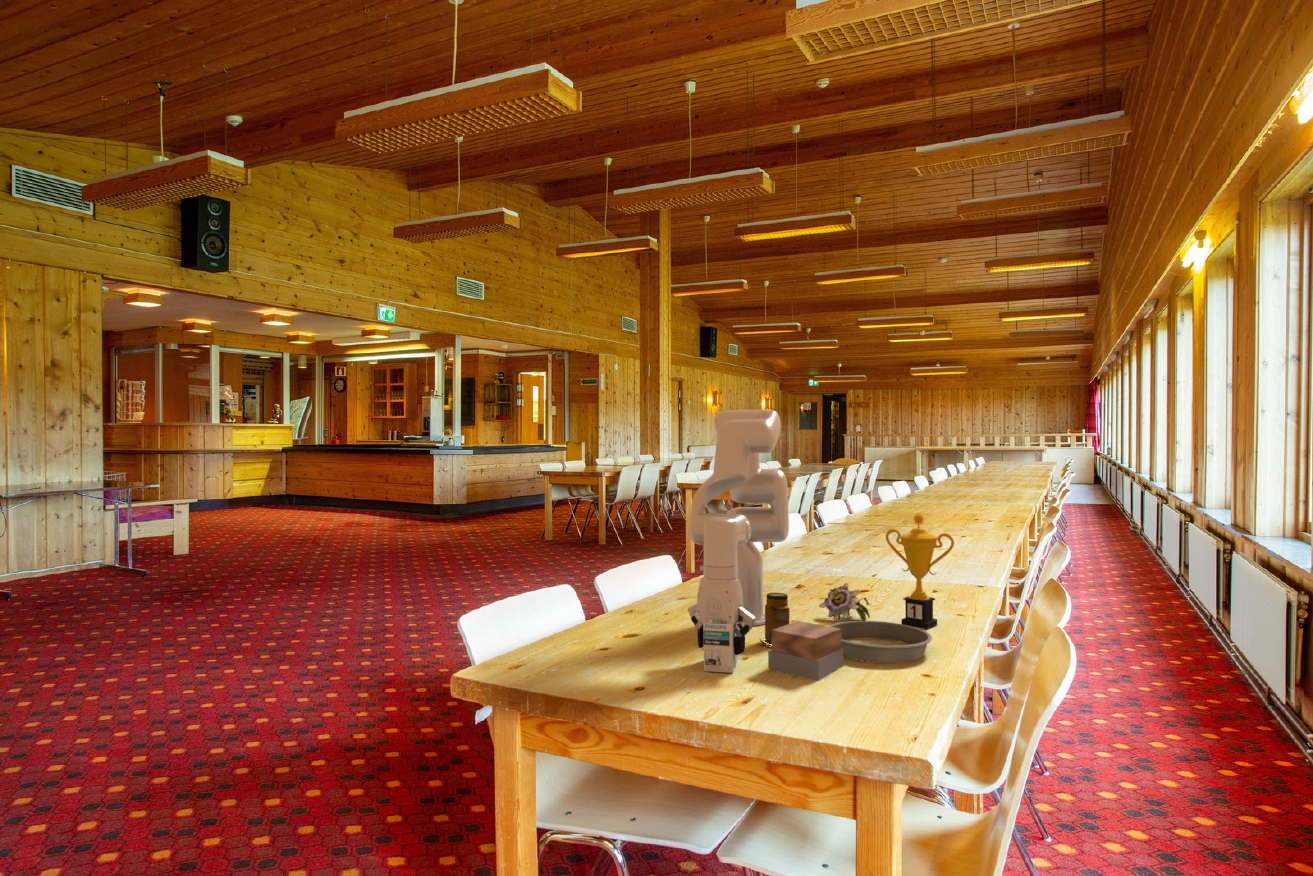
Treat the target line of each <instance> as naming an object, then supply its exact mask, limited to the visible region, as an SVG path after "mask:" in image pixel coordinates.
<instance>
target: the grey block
mask: <svg viewBox="0 0 1313 876" xmlns="http://www.w3.org/2000/svg"><path fill="white" fill-rule="evenodd" d="M767 658H768V659H767V660H768V662H767V664H768V666H767V667H768V668H767V669H770V670H769V671H772V670H774V671H773V672H777V671H778V673H781V674H782V673H783V674H786V673H787V674H788V675H791V674H792V675H791V676H796V677H801V678H806V679H810V678H811V680H815V681H820V680H822V679H824V678H825V677H828V676H829V675H831V674H833V673H834V672H836V671H838V670H839V668H840V669H841V667H842V668H843V667H844V656H843V648H842V649H841V650H839V651H836V652H834V653H832V654H829V655H827V656H825V657H822V658H820V659H818V660H812V659H808V658H803V657H799V656H794V655H790V654H785V653H780V652H776V651H772V649H770V650H768V657H767ZM837 669H838V670H837ZM830 673H831V674H830Z"/></svg>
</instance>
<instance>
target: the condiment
mask: <svg viewBox="0 0 1313 876" xmlns="http://www.w3.org/2000/svg"><path fill="white" fill-rule="evenodd" d="M788 597H789V596H788V594H787V593H783V592H768V593H767V594H766V599H765V602H766V604H765V605H764V614H765V624H764V637H760V638H759V639H760V641H761V642H762V641H765V642H767V643H769V644H772V643H771V630H773V629H776V628H779V627H782V626H785V625H788V624H790V615H791V614H790V605H789V604H788V603H789V600H788ZM761 638H762V639H764V638H765V639H766V640H762V639H761ZM762 644H763V645H764V646H765V647H766V648H769V647H768V646H771V645H766V643H763V642H762Z"/></svg>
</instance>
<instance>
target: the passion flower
mask: <svg viewBox="0 0 1313 876" xmlns="http://www.w3.org/2000/svg"><path fill="white" fill-rule="evenodd" d="M860 593H861V591H860V589H855V590H850V589H849V583H848V582H845V583H843V585H842V586H841V585H840V586H837V587H834V588H830V589H829V591H828V592H827V597H825V598H824V602H822V603H820V604H819V605H818V606H819V608H823V609H824V608H826V609H827V610H828V618H832V617H833V621H834V620H835V621H834V622H838V621H839V620H840V618H841V615H842V617H843V618H844V619H848V618H849V617H850V615H851V613H850V610H851V609H852V610H855V611H856V612H857V614H858V616H859V617H860V619H861V621H867V617H868V619H870V618H871V617H870V612H869V610H868V608H867V607H866V606H865V605H863V604H862V603H861V600H864V601H865V602H866V604H867V606H869V605H870V602H869V601H868V599H867V597H862V598H859V597H857V596H858V595H859V594H860ZM837 620H838V621H837Z"/></svg>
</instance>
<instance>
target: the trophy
mask: <svg viewBox="0 0 1313 876" xmlns="http://www.w3.org/2000/svg"><path fill="white" fill-rule="evenodd" d="M924 520H925V518H924V516H923V515H921V514H915V515H914V516H913V522H914V523H915V525H917V527H915V528H912V529H911V531H908V532H906V533H902V534H901V532H900V531H899V530H897V529H896V528H895V529H894V528H891V529H889V530H888V531H887V532H886V533H885V541H886V542H887V544H888V546H889V547H890V548H891V549H892V551H893V552H894V553H895V554H896V555H898V557H899V558H900V559H901V560H902V561H904V563H905V564H906V565H907V569H904V568H902V567H901V569H902V571H903V572H908V571H909V572H910V574H911V575H912V576H913V577H914V578H915V579H916V582H915V583H916V586H915V589H914V590H912V593H910V595H909V596H905V597H903V598H902V599H903V600H904V601H905V603H904V604H905V617H903V618H902V619H901V623H900V624H903V625H908V626H912V627H915V628H916V627H919V628H918V629H921V628H924V629H923V630H928V629H931V628H933V627H935V626H938V618H934V601H935V600H936V598H935V597H930V596H928V594H927V593H926V591H924V590H923V585H922V584H923V582H922V581H923V579H924V578H925V577H926V576H927V574H928V573H929V574H930V575H932V576H934V575H935V576H936V574H937V572H934V573H933V572H931V568H932V566H934V565H935V564H937V563H938V562H939V561H941V560H942V559H943V558H945V557H946V556H947V555H948V554H949V553H951V551H952V550H953V548H954V545H955V540H954V538H953V536H951V534H948V533H945V532H944V533H941V534H938V536H937V535H935V534H933V533H930V532H927V531H926V528H921V527H920V526H921V525H923V523H924ZM891 533H896V534H897V538H896V540H895V541H896V543H897V544H898V545H902V546H903V550H904V555H905V556H904V555H903V554H902V553H900V551H899V550H898V549H897V548H896V547H895V545H893V544H892V542H891V541H890V539H889V536H890V534H891ZM943 537H946V538H947V539H949V540H950V542H951V543H950V546H949V547H948V548H947V550H945V551H944V552H943V553H942V554H941V555H939V556H938V557H937V558H936V559H934V560H933V554H934V550H935V549H940V548H942V547H943V542H942V540H941V539H942V538H943ZM900 540H901V541H900ZM937 542H938V543H939V545H938V544H937ZM932 560H933V561H932ZM930 627H931V628H930Z"/></svg>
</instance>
